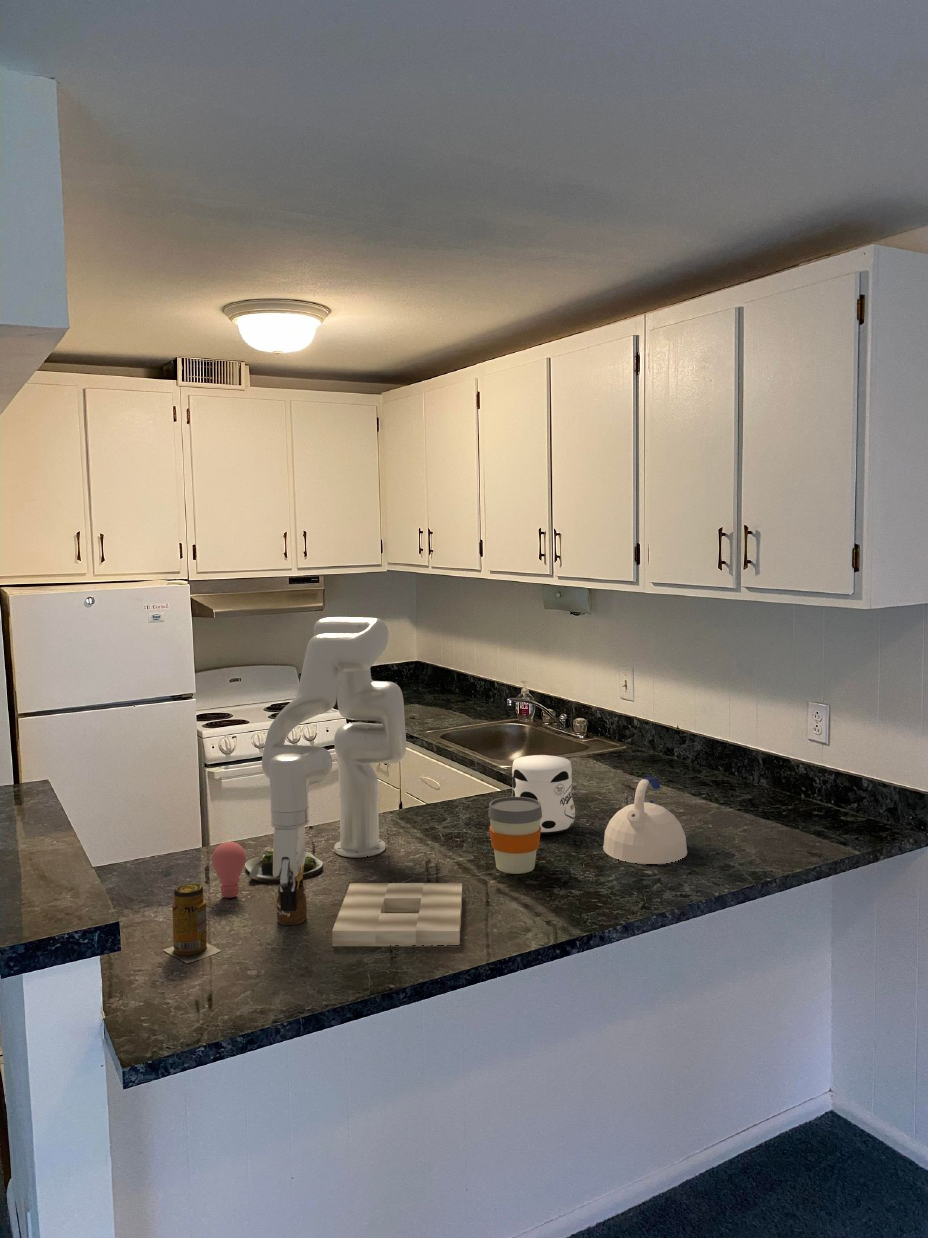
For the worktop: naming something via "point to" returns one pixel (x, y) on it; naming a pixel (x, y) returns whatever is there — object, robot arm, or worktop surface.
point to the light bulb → (229, 866)
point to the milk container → (546, 789)
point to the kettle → (645, 832)
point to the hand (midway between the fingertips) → (292, 903)
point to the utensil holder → (301, 911)
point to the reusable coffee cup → (515, 833)
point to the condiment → (190, 925)
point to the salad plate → (264, 872)
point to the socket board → (399, 915)
